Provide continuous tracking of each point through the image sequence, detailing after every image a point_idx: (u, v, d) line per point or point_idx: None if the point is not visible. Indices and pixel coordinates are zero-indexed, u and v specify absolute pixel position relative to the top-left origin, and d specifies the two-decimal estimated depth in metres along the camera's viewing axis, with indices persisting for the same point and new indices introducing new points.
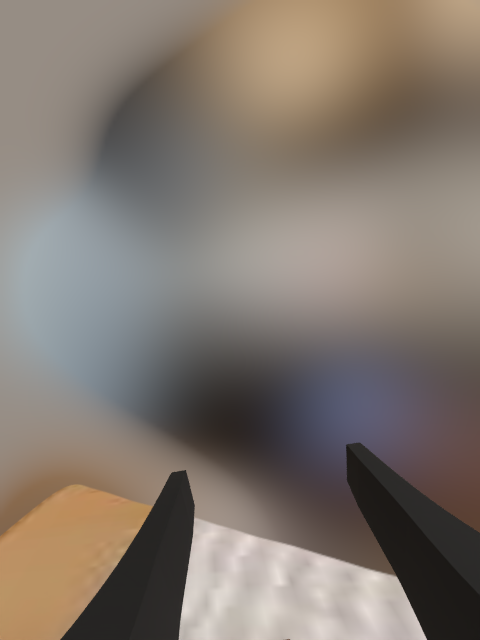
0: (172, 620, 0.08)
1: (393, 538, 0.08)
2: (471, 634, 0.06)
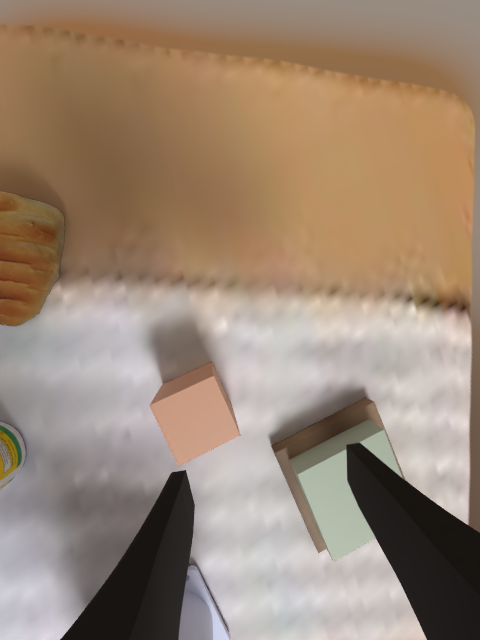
0: (172, 620, 0.08)
1: (393, 538, 0.08)
2: (471, 634, 0.06)
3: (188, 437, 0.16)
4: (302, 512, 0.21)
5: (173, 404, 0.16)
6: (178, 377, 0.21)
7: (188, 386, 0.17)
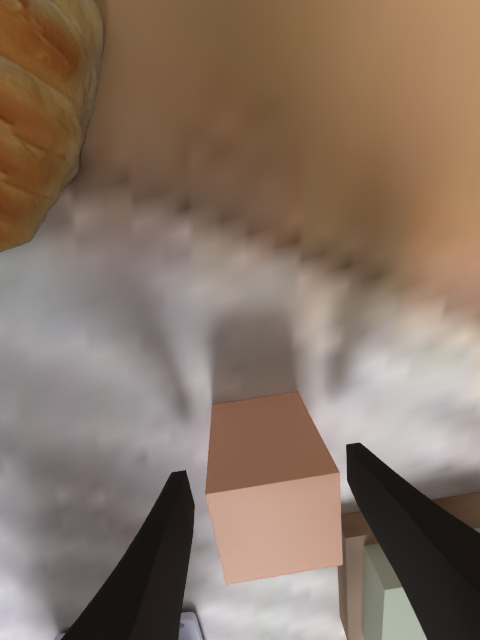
0: (172, 620, 0.08)
1: (393, 538, 0.08)
2: (471, 634, 0.06)
3: (257, 552, 0.09)
4: (349, 604, 0.16)
5: (248, 501, 0.08)
6: (239, 403, 0.13)
7: (283, 474, 0.08)
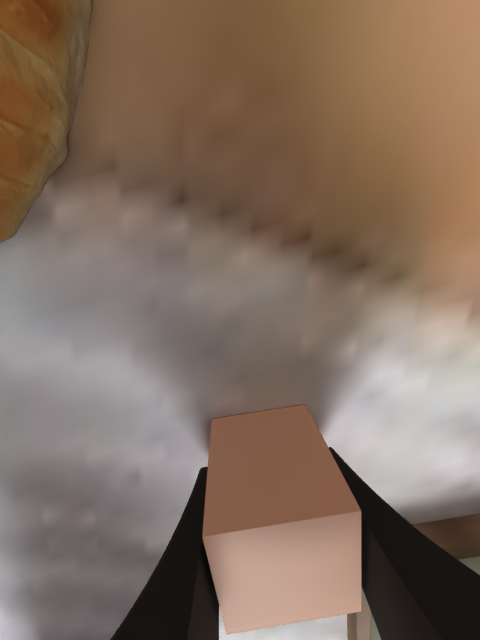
0: (214, 613, 0.08)
1: None
2: None
3: (263, 599, 0.08)
4: (359, 630, 0.15)
5: (253, 543, 0.07)
6: (242, 418, 0.11)
7: (294, 512, 0.07)
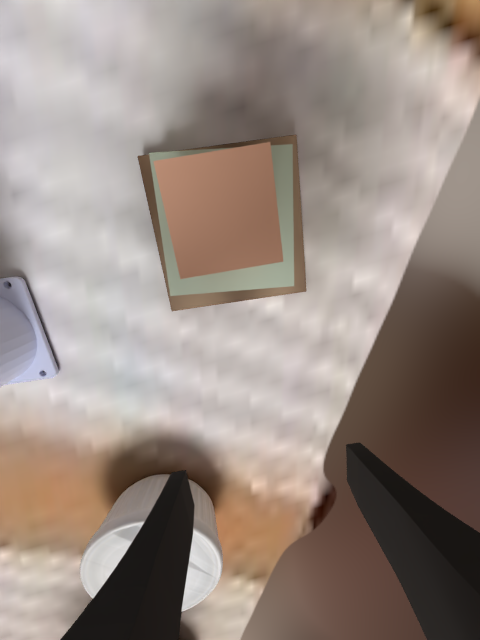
0: (172, 620, 0.08)
1: (393, 538, 0.08)
2: (471, 634, 0.06)
3: (205, 239, 0.10)
4: (160, 253, 0.17)
5: (192, 173, 0.10)
6: None
7: None
